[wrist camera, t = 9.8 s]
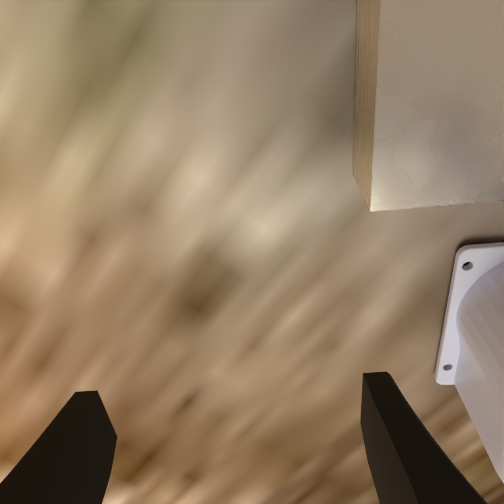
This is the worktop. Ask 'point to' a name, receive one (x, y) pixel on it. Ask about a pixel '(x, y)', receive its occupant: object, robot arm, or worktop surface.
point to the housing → (429, 102)
